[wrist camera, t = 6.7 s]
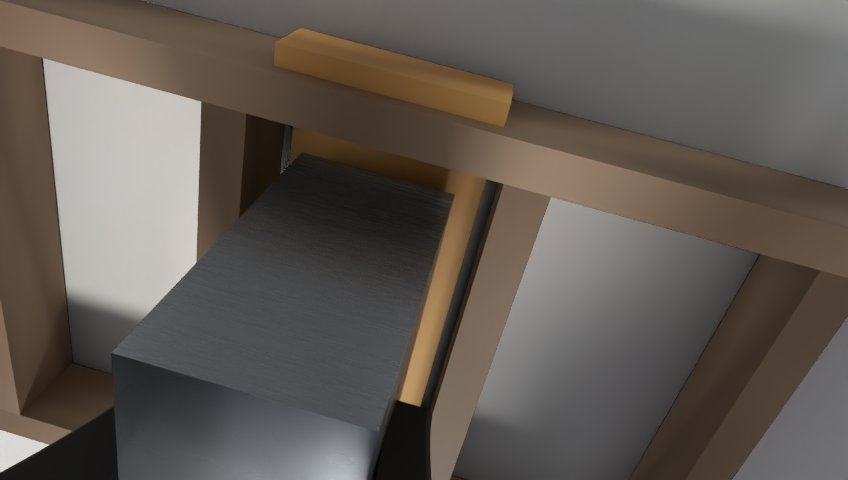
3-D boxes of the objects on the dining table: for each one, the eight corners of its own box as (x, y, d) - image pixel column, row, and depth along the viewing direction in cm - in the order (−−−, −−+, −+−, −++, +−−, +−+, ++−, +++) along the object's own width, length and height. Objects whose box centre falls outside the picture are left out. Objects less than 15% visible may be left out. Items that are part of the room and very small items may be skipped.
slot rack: (860, 169, 11) (914, 220, 10) (623, 547, 17) (630, 621, 15) (-9, -61, 12) (-102, -52, 10) (48, 376, 18) (-6, 427, 16)
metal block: (455, 194, 12) (378, 431, 7) (380, 472, 16) (297, 753, 11) (301, 152, 12) (111, 352, 7) (267, 438, 16) (131, 699, 11)
